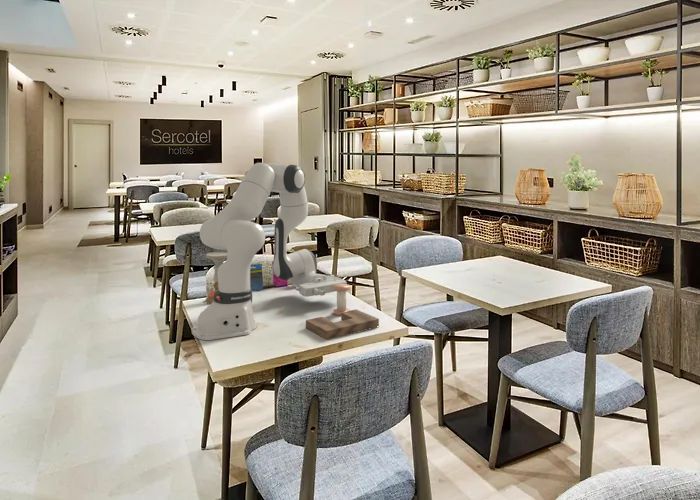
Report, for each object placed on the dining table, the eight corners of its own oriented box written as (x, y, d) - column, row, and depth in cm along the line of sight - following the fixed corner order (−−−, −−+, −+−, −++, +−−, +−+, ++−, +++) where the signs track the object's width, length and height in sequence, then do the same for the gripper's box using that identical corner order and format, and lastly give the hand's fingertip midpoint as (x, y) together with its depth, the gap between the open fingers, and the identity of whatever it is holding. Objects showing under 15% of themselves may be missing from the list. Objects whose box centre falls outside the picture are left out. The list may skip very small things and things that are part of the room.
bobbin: (339, 316, 198) (339, 288, 195) (330, 312, 203) (330, 285, 201) (353, 313, 201) (353, 286, 199) (343, 309, 206) (343, 282, 204)
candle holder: (228, 305, 213) (226, 257, 209) (200, 304, 215) (197, 256, 211) (240, 297, 224) (238, 251, 221) (214, 296, 227) (211, 250, 223)
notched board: (326, 339, 174) (326, 331, 173) (305, 328, 185) (305, 320, 185) (378, 326, 186) (378, 318, 185) (356, 316, 197) (356, 309, 197)
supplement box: (272, 284, 245) (271, 261, 243) (284, 283, 248) (283, 259, 246) (275, 287, 240) (275, 263, 238) (288, 286, 243) (287, 262, 240)
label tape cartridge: (260, 287, 240) (259, 261, 238) (263, 289, 237) (262, 263, 234) (241, 290, 236) (240, 263, 233) (244, 292, 232) (243, 265, 230)
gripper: (293, 280, 210) (310, 287, 199) (335, 273, 221) (354, 280, 210) (293, 295, 211) (310, 303, 200) (335, 288, 222) (354, 295, 211)
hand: (333, 291), depth 205 cm, fingers open, 8 cm apart
